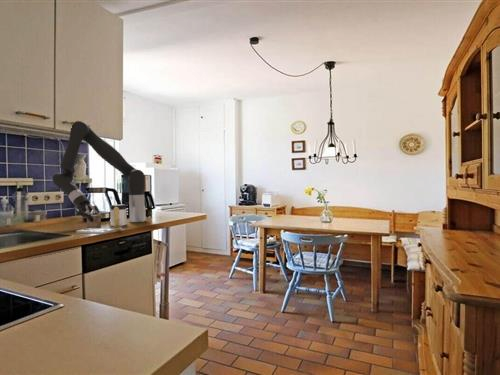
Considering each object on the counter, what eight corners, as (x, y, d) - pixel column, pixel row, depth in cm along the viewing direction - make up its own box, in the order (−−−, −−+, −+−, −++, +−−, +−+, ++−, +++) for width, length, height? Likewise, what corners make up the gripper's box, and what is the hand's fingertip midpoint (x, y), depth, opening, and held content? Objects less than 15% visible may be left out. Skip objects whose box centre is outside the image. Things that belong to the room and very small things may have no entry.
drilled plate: (88, 230, 172) (88, 228, 172) (114, 231, 167) (114, 229, 167) (76, 232, 164) (76, 230, 164) (103, 233, 159) (103, 231, 159)
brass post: (116, 228, 175) (115, 206, 175) (123, 228, 174) (122, 206, 173) (110, 230, 171) (110, 207, 170) (117, 230, 169) (116, 207, 169)
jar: (112, 226, 184) (111, 205, 183) (109, 224, 191) (108, 204, 190) (128, 225, 189) (127, 204, 188) (125, 223, 196) (124, 204, 195)
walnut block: (93, 226, 185) (93, 214, 184) (100, 226, 183) (100, 214, 183) (87, 227, 180) (86, 215, 180) (94, 228, 178) (93, 215, 178)
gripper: (72, 195, 176) (90, 217, 173) (91, 193, 190) (109, 214, 187) (64, 204, 178) (82, 226, 175) (85, 202, 192) (102, 222, 189)
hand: (96, 220), depth 181 cm, fingers closed on walnut block, 5 cm apart
